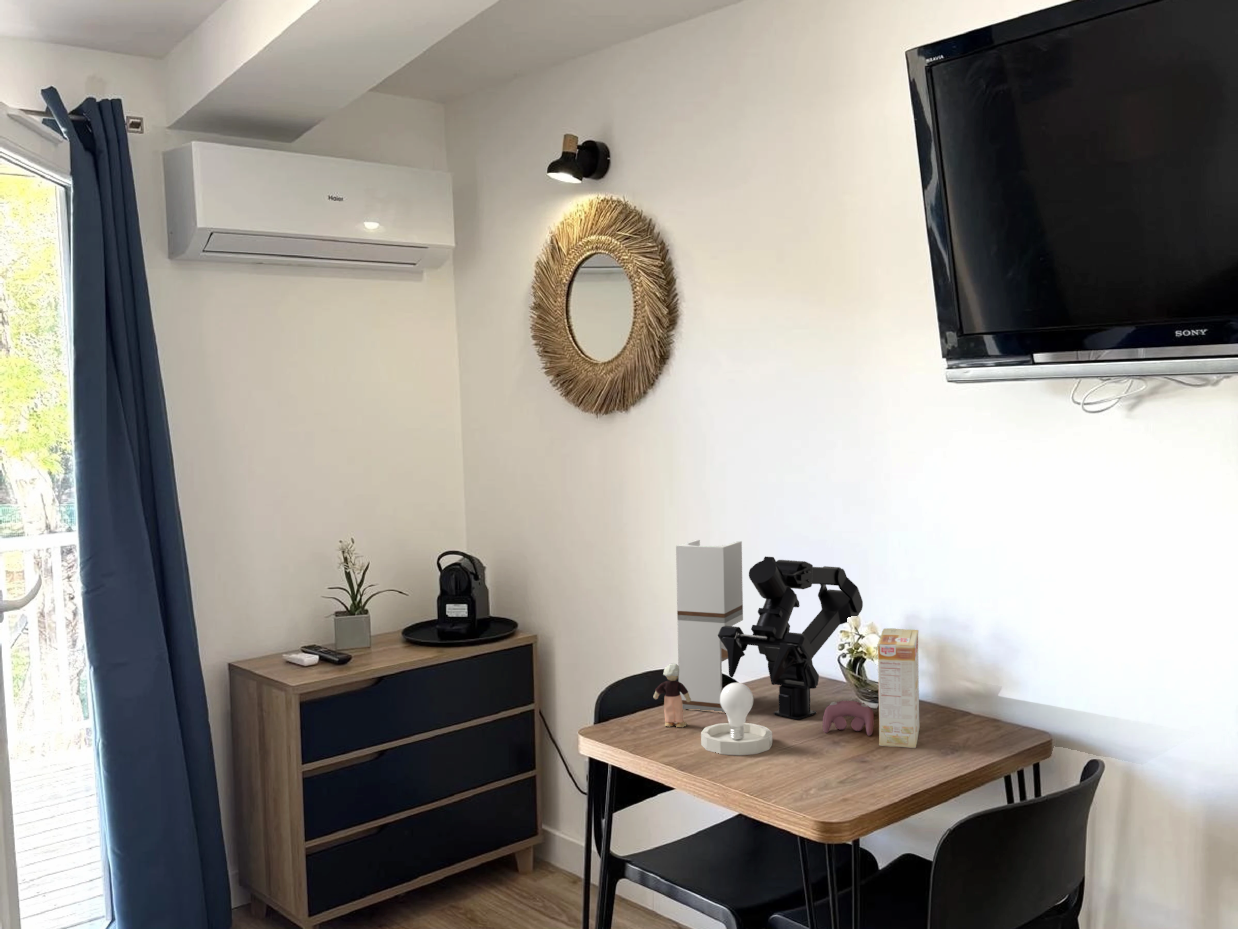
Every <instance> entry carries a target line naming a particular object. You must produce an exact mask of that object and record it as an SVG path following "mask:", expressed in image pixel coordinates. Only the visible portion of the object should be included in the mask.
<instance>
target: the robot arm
mask: <svg viewBox="0 0 1238 929" xmlns="http://www.w3.org/2000/svg"><path fill="white" fill-rule="evenodd" d="M748 578H749V580H750V581H751V583H752V584H753V586H754V588H755V589H756V591H757V592H758V594H759V596H760V597H761V598H763V599H765V602H764V604H763V605H762V606H763V607H759V608H758V610H757V613H758V615H759V617H758V619H757V622H756V624H752V626H751V627H750V628H751V629H750V630H751V631H752V634H746V633H744V632H743V630H742V629H741V627H740V626H735V625H733V626H723V627H721V629H720V631H719V633H718V637H719V639H720V640H721V642H722V643H723V645H724V646H725V648H726V649H727V652H728V659H727V664H728V676H729V678H733V677H734V676H735V674H736V671H737V670H738V666H739V663H740V660H741V658H743V657H744V656H746V653H745V652H744V651H746V650H747V648H748V646H756V647H757V649H758V653H759V654H760V655H764V656H765V659H766V661H767V670H768V675H769V678H770V683H771V686H772V685H774V686H778V691H779V692H778V710H775V711H773V715H775V716H776V715H777V716H780V717H785V718H789V719H794V720H801V719H804V718H805V719H806V718H807V717H810V716H813V715H817V711H816V710H812V709H811V689H816V688H817V686H818V685H819V678H820V675H819V673H818V672H817V670H816V667H814V663H813V658H814V657H815V655H817V653H818V652H819V650H820V649H821V648H822V647H823V646H824V645H825V644H826V642H827V641H828V640H829V638H830V637H831V636H832V634H834V632H835V631H836V630H837V628H838V627H839V626H840V625H843V624H847V623H848V622H847V618H848V617H851V616H857V617H859V615H860V614H861V612H862V611H863V606H864V603H863V598H862V596H861V593H860V590H859V588H858V586H857V585H856V584H855V583H854V582H853V581H852V580H851V579H850V578H849V577H848V576H847V574H846V571H845V569H844V568H841V567H840V566H826V565H824V566H821V567H820V566H813V564H811V563H810V562H808V561H804V560H802V561H801V560H789V559H778V560H776V559H775V557H774V556H764V557H763V559H762V560H760V561H757V562H756V563H755V564H754V565H752V566H751V567H750V569H749V571H748ZM813 585H820V588H819V591H818V593H817V597H818V599H819V602H820V606H821V610H820V611H819V612H818V613H817V615H816V616H815V617H814V618H813V619H812V621H810V623H809V624H808V625H807V627H806V628H805V629H804V630H803V631H802V632H790V630H791V625H790V623H789V621H790V619H791V616H792V613H793V611H794V608H799V607H800V601H799V600H798V595H797V594H796V593H795V591H794V590H806V589H808V588H811V587H812V586H813ZM827 585H828V586H838V589H839V590H838V589H828V588H827ZM793 589H794V590H793Z"/></svg>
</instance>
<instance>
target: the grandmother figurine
mask: <svg viewBox="0 0 1238 929" xmlns="http://www.w3.org/2000/svg"><path fill="white" fill-rule="evenodd" d="M679 670H680V669H679V666H678V664H677V663H674V662H673V663H669V664H667V665H666V666H665V668H664V669H663V674H662V675H663V676H665V677H666V679H667V680H666V681H663V682H661V683H660V684H659V685H657V687H656V688H655V689H654V690H655V692H654V694H653V699H654V700H658V699H659V696H660V695H662V694H664V700H663V701H664V702H663V711H664V713H663V714H664V727H665V726H669V727H668V728H671V727H670V726H673V725H674V724H675V723H677V724H675V725H674V726H676V727H675V728H677V727H682V728H685V727H687V726H688V724H687V723H686V722H687V721H685V720H684V719H685V718H684V710H683V706H682V698H681V695H680V692H681V693H682V694H683V695H684V697H685V698H686V701H687V702H690V701H691V698H690V697H689V693H688V690H687V689H686V688H685V686H684V685H683V684H682V683H680V682H679V681H677V680H679ZM686 725H687V726H686ZM674 726H673V727H674ZM684 726H685V727H684Z"/></svg>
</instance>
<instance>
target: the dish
mask: <svg viewBox="0 0 1238 929" xmlns="http://www.w3.org/2000/svg"><path fill="white" fill-rule="evenodd" d="M700 745H701V747H703V748H704V749H705V751H708V752H711V753H715V752H716V753H715V754H718V753H719V755H729V756H746V755H748V756H749V755H757V754H761V753H763V752H767V751H769V750H770V749H771V748H772V746H773V731H772V730H770V729H769V728H768V727H767V726H764V725H760V724H756V723H751V722H749V723H748V722H745V724H744V738H743V739H741V740H739V741H735V740H733V739H732V738H730V724H729V722H721V723H715V724H713V725H712V724H711V725H708V726H706V727H704V728H703V730H702V731H701V732H700Z"/></svg>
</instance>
